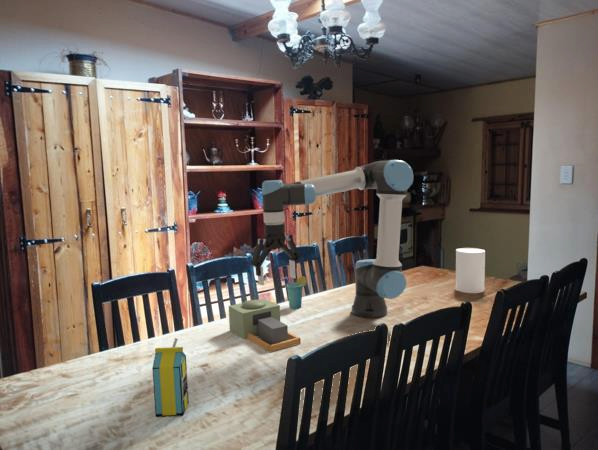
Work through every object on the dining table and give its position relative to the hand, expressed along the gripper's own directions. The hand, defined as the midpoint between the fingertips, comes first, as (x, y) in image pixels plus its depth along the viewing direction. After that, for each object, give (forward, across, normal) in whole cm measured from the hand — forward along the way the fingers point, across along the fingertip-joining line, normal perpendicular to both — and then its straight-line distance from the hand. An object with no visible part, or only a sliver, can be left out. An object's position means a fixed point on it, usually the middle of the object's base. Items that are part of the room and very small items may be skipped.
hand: (277, 281), depth 168 cm
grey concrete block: (+22, +4, +1) cm, 22 cm away
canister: (+24, -110, +4) cm, 113 cm away
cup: (+22, -25, -28) cm, 43 cm away
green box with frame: (+22, +4, -5) cm, 22 cm away
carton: (+21, +50, +26) cm, 60 cm away
